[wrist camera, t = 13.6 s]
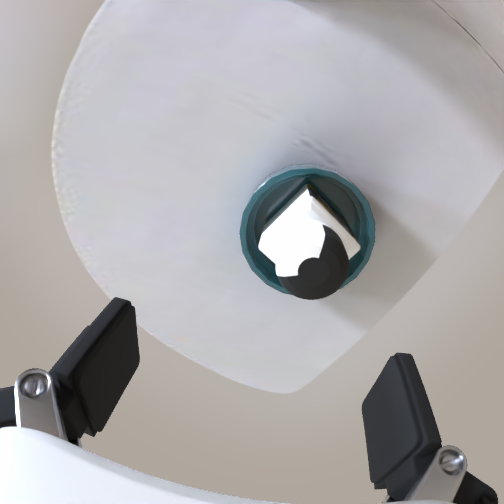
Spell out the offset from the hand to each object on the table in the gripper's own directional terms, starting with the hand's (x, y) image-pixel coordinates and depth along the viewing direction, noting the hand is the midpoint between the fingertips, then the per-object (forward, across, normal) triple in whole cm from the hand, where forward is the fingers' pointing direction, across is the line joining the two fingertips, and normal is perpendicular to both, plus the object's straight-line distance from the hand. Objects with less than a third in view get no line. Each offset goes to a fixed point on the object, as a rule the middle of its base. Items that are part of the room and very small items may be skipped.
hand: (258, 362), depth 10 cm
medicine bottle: (+26, -3, +3) cm, 26 cm away
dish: (+26, -3, +3) cm, 27 cm away
